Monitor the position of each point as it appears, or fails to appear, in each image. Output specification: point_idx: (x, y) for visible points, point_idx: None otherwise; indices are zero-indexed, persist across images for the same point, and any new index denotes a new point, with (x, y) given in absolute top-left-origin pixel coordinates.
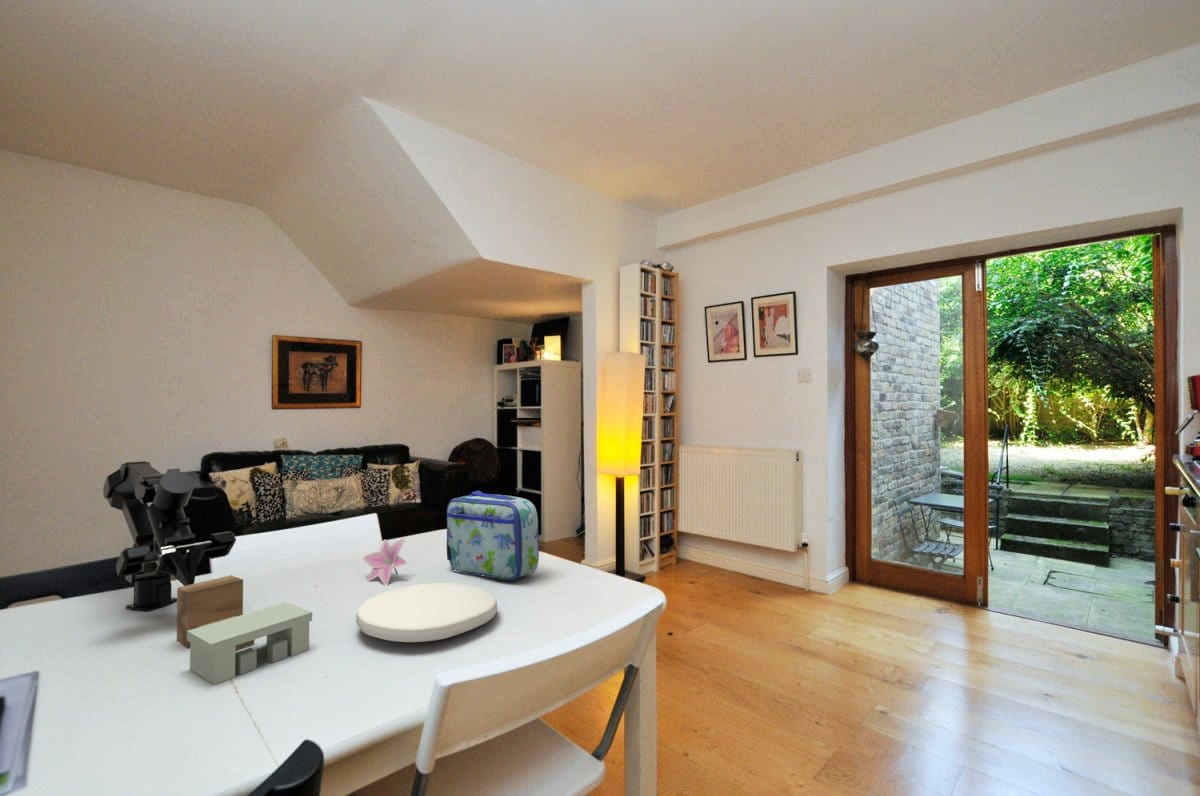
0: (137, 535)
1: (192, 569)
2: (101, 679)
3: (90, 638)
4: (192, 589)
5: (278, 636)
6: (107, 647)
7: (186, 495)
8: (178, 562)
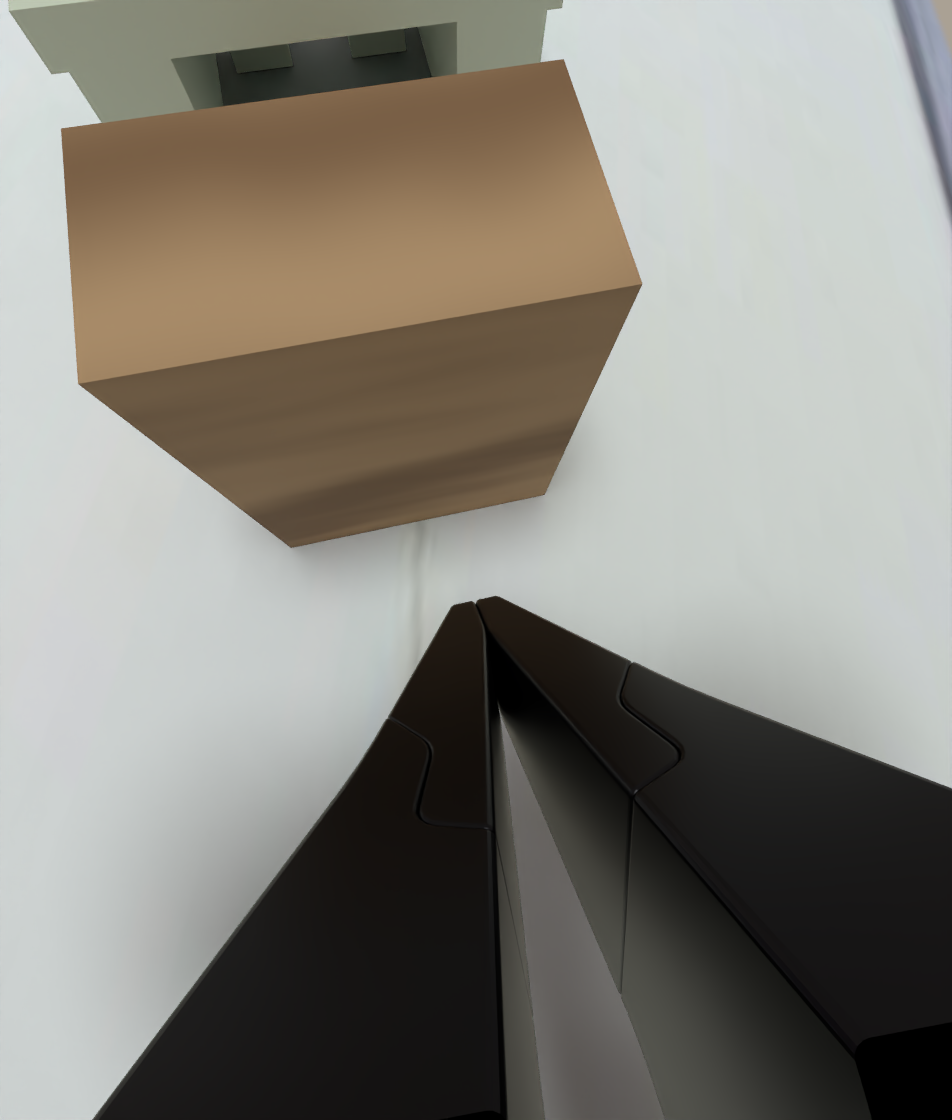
0: None
1: (456, 688)
2: (795, 279)
3: None
4: (524, 128)
5: (200, 59)
6: (826, 652)
7: None
8: (742, 744)
